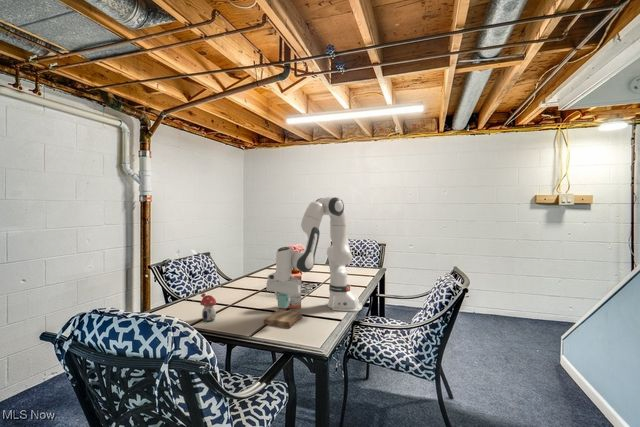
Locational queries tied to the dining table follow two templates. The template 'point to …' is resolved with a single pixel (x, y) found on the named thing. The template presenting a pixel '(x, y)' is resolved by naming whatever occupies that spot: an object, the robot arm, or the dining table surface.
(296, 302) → the cracker box
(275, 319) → the base
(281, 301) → the block
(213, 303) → the decorative ornament
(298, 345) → the dining table surface
